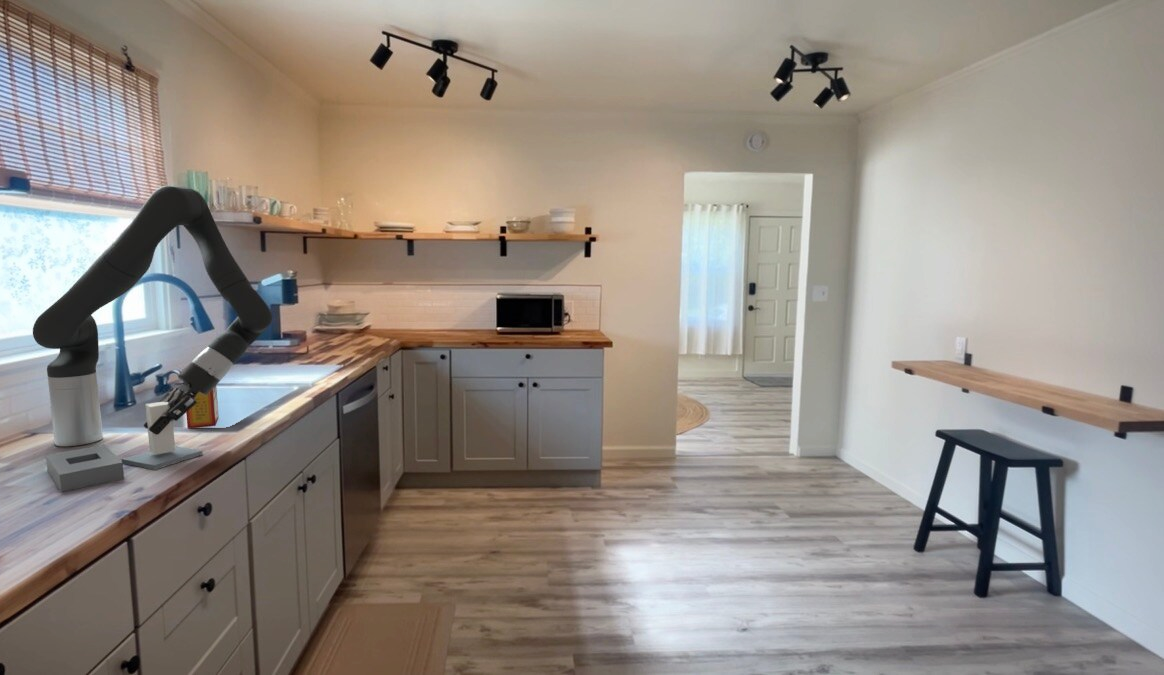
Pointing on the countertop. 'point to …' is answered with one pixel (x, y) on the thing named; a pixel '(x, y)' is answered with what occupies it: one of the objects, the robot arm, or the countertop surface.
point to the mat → (161, 458)
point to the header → (84, 467)
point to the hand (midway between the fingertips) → (150, 430)
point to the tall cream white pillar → (166, 436)
